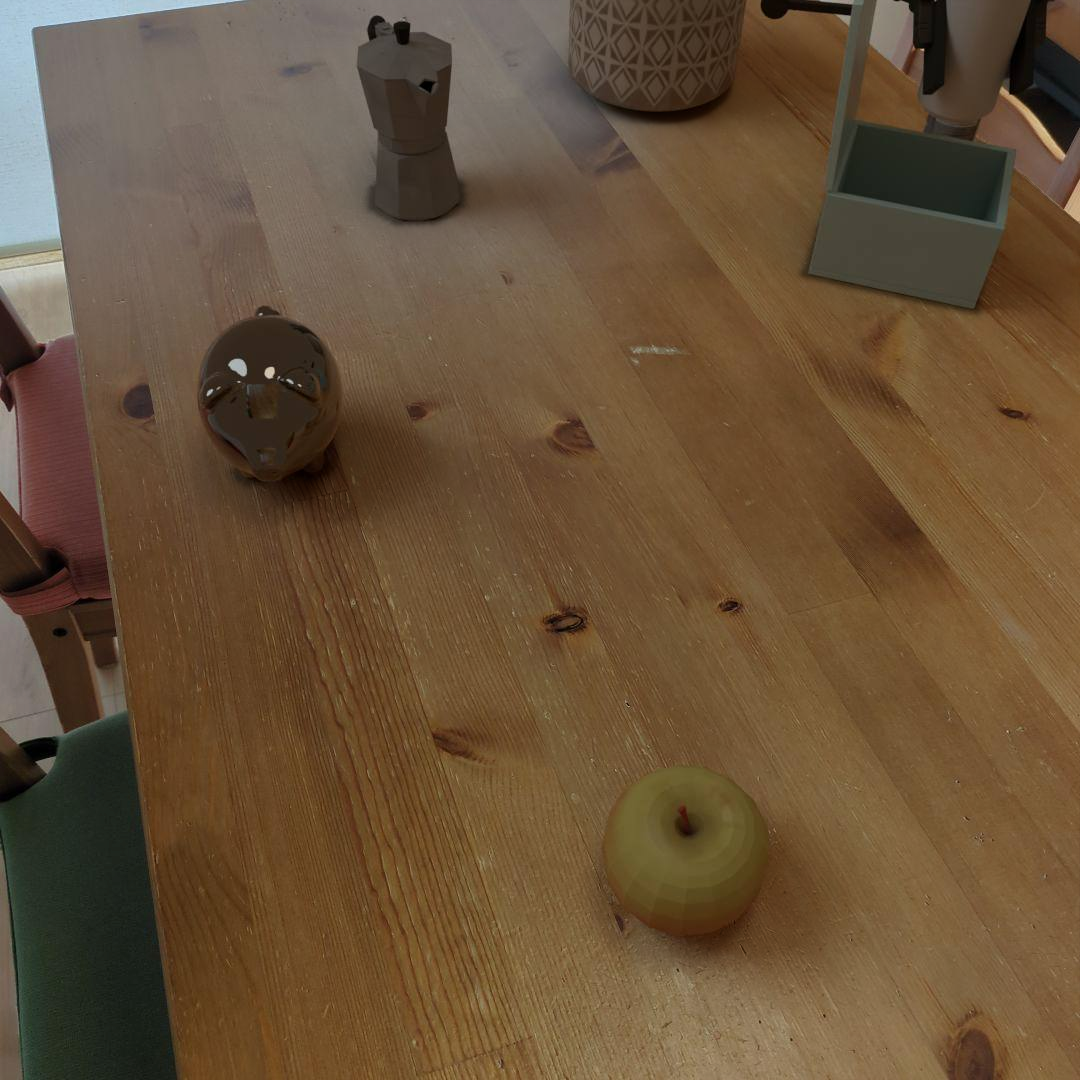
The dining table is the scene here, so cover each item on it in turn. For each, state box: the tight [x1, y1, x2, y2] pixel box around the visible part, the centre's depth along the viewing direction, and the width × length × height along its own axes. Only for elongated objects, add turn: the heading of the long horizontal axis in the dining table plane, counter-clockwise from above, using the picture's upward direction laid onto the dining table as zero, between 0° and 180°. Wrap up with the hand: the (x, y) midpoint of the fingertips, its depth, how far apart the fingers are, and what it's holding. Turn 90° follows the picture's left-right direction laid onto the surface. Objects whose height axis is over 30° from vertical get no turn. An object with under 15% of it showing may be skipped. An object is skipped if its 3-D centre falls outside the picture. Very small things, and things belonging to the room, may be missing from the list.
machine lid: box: [760, 0, 878, 191], centre depth 99 cm, size 16×14×9 cm
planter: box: [567, 0, 748, 112], centre depth 123 cm, size 19×19×16 cm
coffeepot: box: [356, 14, 460, 222], centre depth 108 cm, size 15×9×18 cm, turn 26°
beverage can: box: [917, 0, 1031, 123], centre depth 90 cm, size 6×6×12 cm
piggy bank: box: [195, 305, 344, 482], centre depth 87 cm, size 11×15×12 cm
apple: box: [601, 764, 771, 937], centre depth 66 cm, size 10×10×8 cm
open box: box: [807, 119, 1017, 310], centre depth 106 cm, size 16×14×9 cm
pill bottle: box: [922, 113, 983, 142], centre depth 117 cm, size 5×5×10 cm
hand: (977, 89), depth 89 cm, fingers closed on beverage can, 6 cm apart
